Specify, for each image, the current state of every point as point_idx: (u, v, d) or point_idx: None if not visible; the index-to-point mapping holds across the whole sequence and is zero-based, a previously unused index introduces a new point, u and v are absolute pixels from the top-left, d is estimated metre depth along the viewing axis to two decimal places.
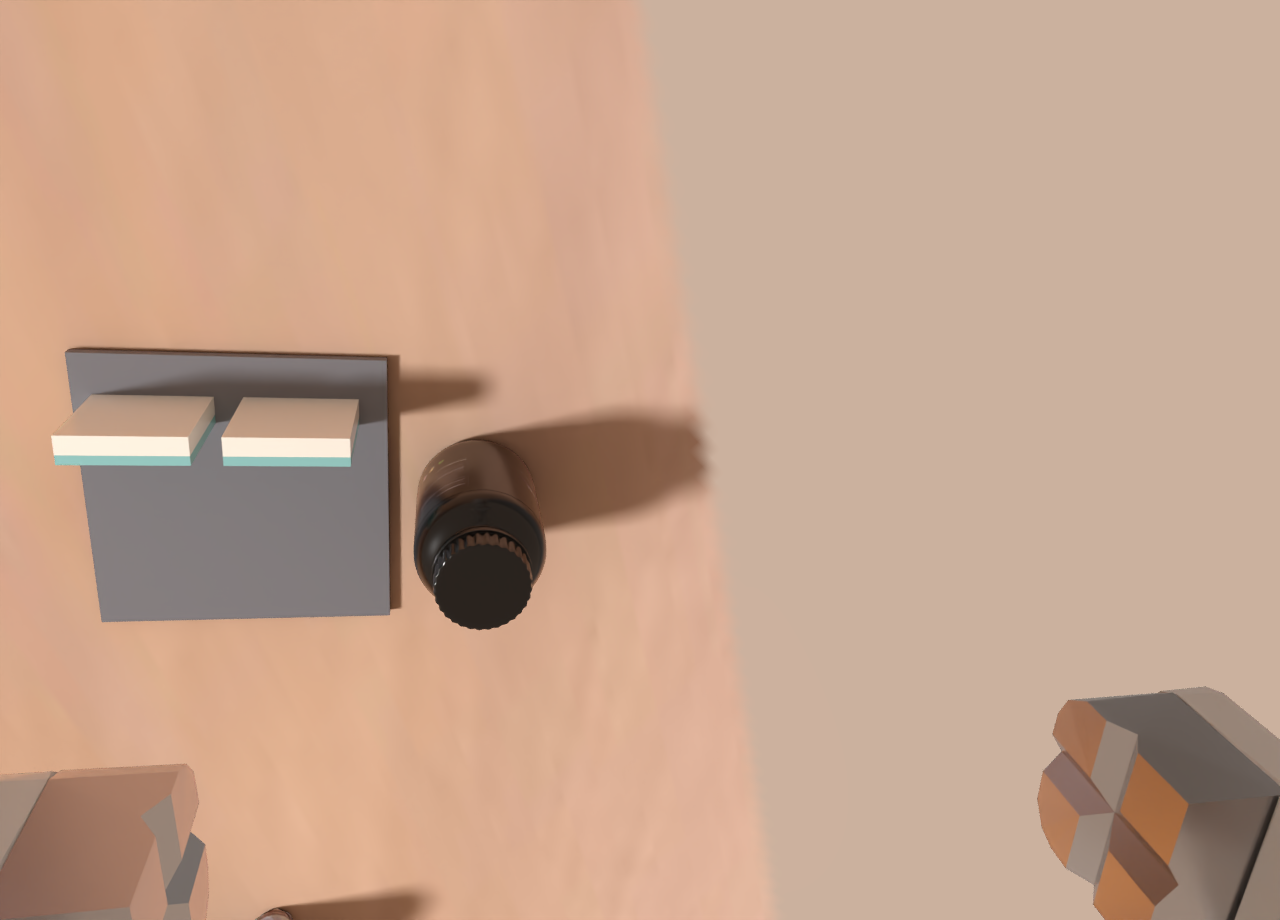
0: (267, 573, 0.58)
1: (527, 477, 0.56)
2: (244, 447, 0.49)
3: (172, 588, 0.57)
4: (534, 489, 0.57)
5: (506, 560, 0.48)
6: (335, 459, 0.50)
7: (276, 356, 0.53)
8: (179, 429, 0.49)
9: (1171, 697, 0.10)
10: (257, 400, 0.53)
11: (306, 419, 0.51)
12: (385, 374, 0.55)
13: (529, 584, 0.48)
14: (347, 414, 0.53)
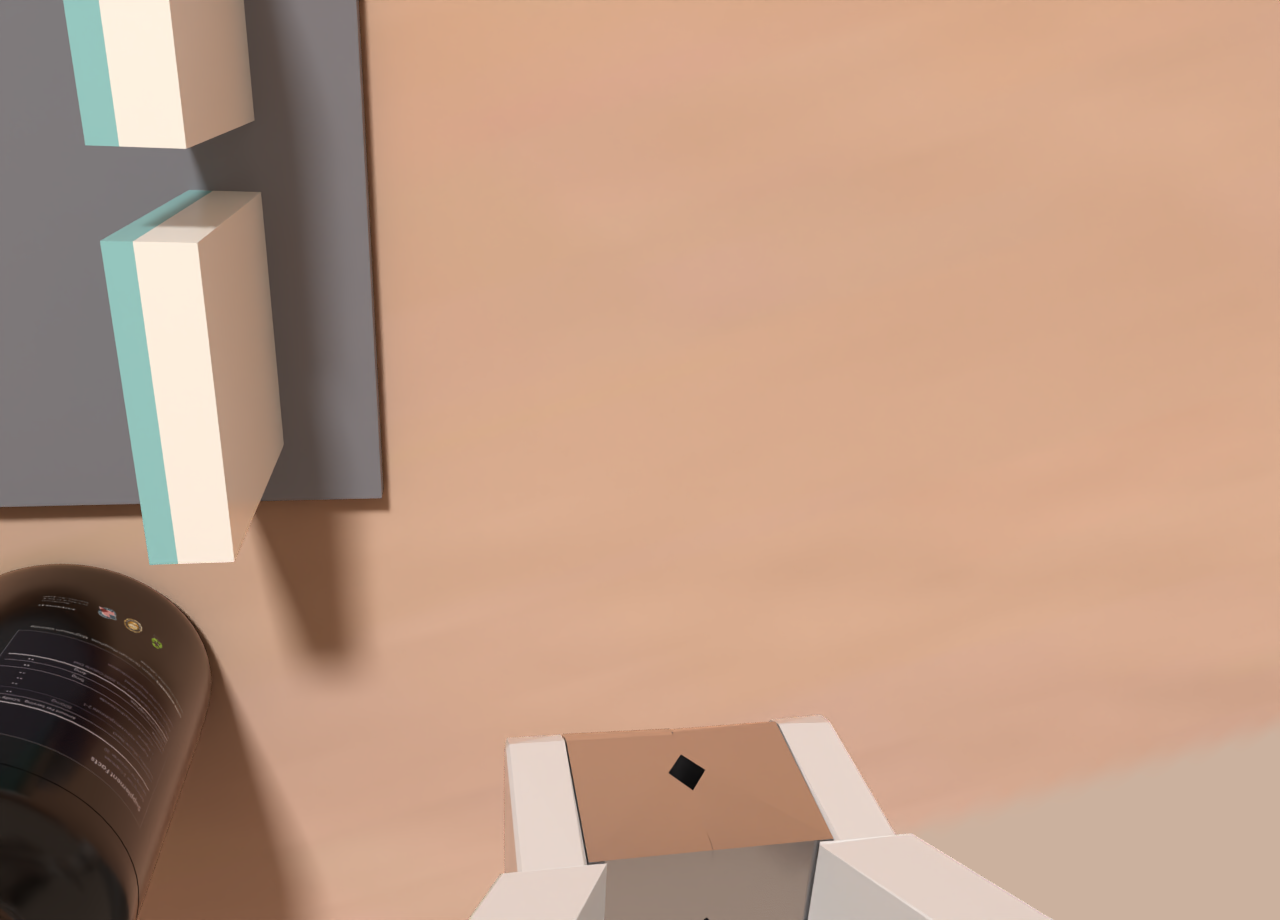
0: None
1: None
2: (172, 303, 0.17)
3: None
4: None
5: None
6: (166, 529, 0.18)
7: (371, 271, 0.23)
8: (196, 104, 0.17)
9: (768, 727, 0.09)
10: (260, 232, 0.22)
11: (248, 398, 0.20)
12: (349, 496, 0.25)
13: None
14: (264, 469, 0.22)
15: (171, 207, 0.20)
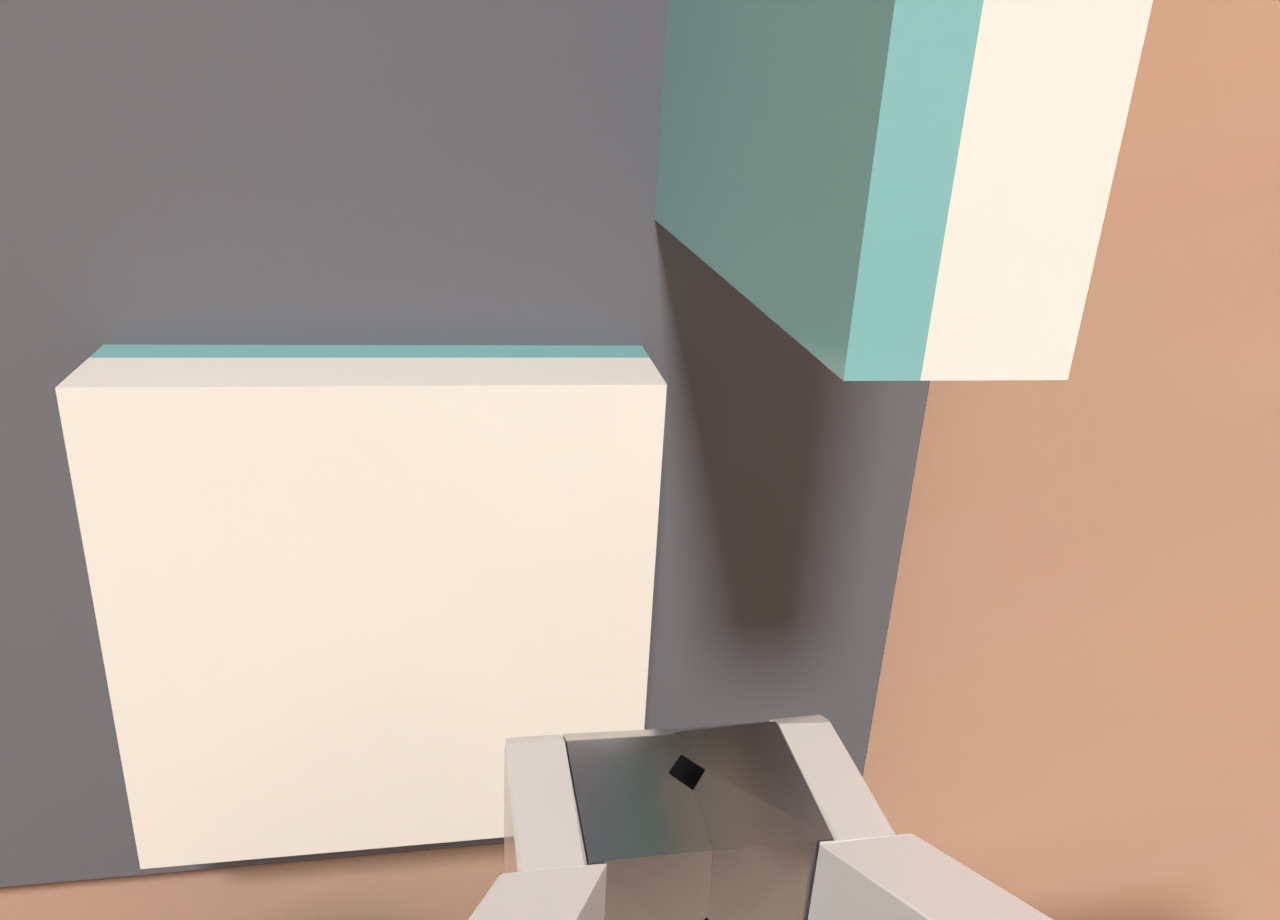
0: None
1: None
2: None
3: None
4: None
5: None
6: None
7: None
8: None
9: (768, 727, 0.09)
10: (617, 454, 0.11)
11: (355, 689, 0.11)
12: None
13: None
14: (440, 817, 0.12)
15: (434, 350, 0.11)
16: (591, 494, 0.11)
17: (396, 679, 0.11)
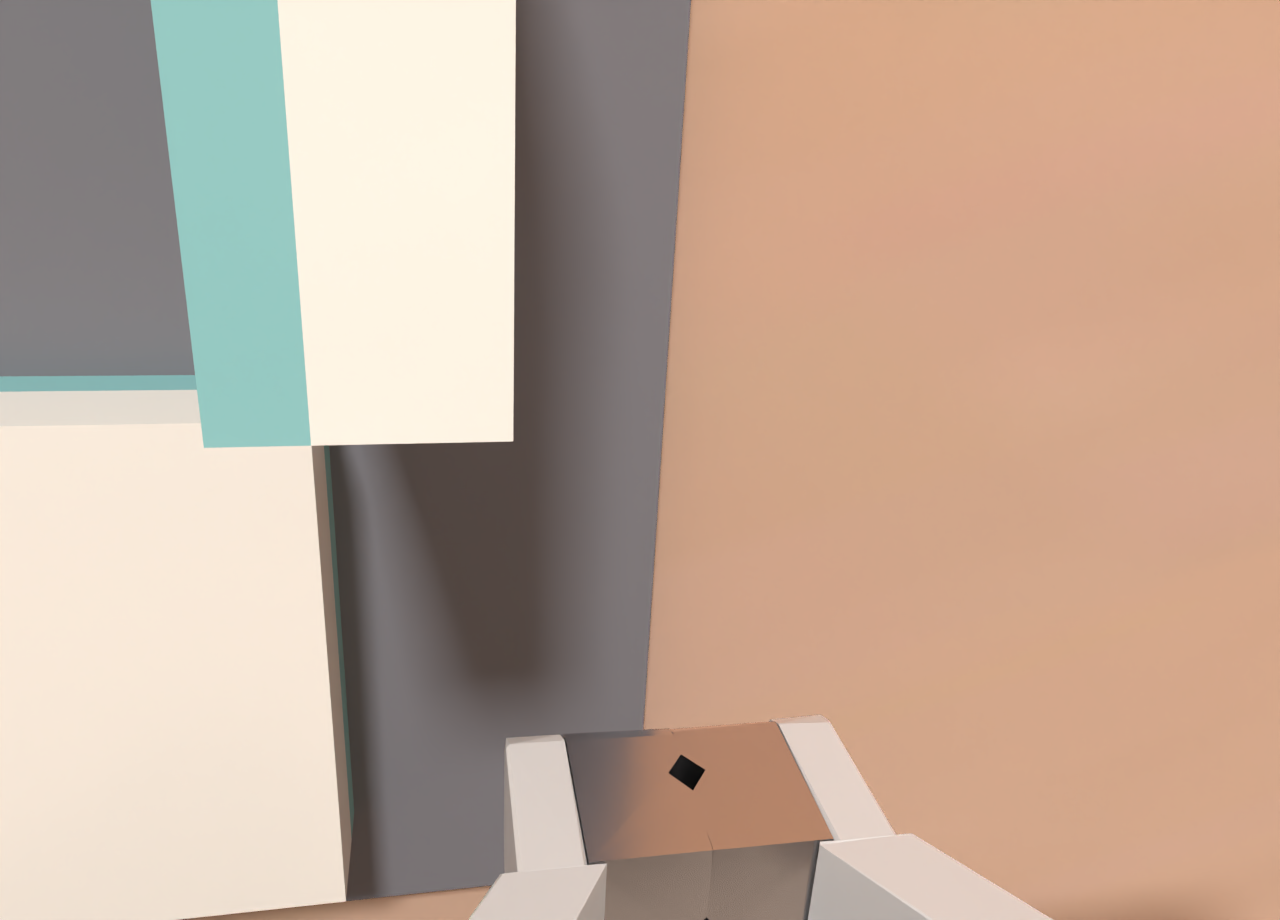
0: None
1: None
2: None
3: None
4: None
5: None
6: None
7: None
8: None
9: (768, 727, 0.09)
10: (260, 499, 0.10)
11: None
12: None
13: None
14: (110, 899, 0.11)
15: (70, 382, 0.10)
16: (236, 544, 0.10)
17: (32, 751, 0.10)
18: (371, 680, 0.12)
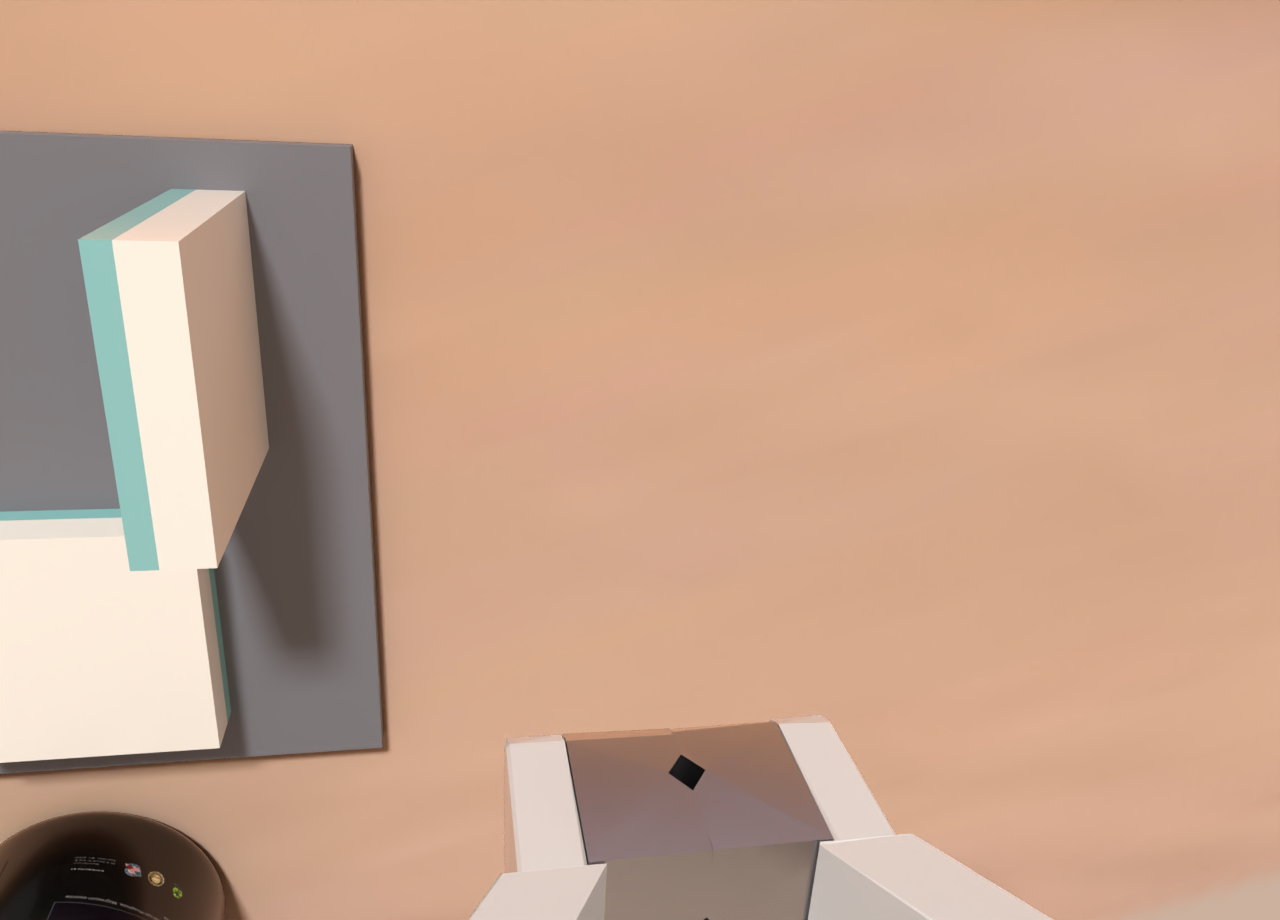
0: None
1: None
2: None
3: None
4: None
5: None
6: None
7: (373, 560, 0.26)
8: (224, 515, 0.19)
9: (768, 727, 0.09)
10: None
11: (56, 676, 0.24)
12: (352, 747, 0.28)
13: None
14: (110, 742, 0.24)
15: (93, 513, 0.24)
16: (163, 584, 0.23)
17: (76, 672, 0.24)
18: (236, 645, 0.26)
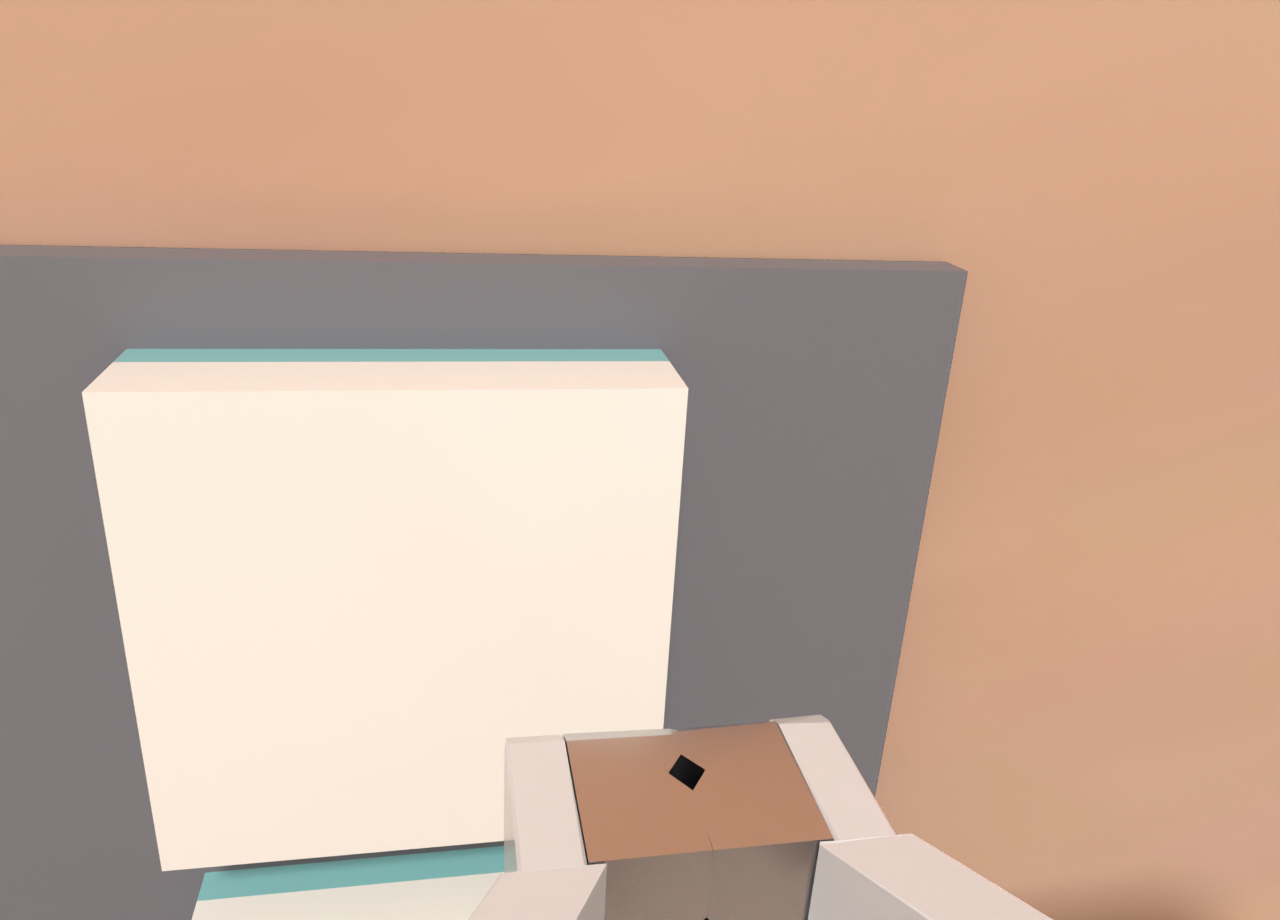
0: None
1: None
2: None
3: None
4: None
5: None
6: None
7: None
8: (245, 823, 0.12)
9: (768, 727, 0.09)
10: None
11: None
12: None
13: None
14: None
15: (465, 861, 0.14)
16: None
17: None
18: None
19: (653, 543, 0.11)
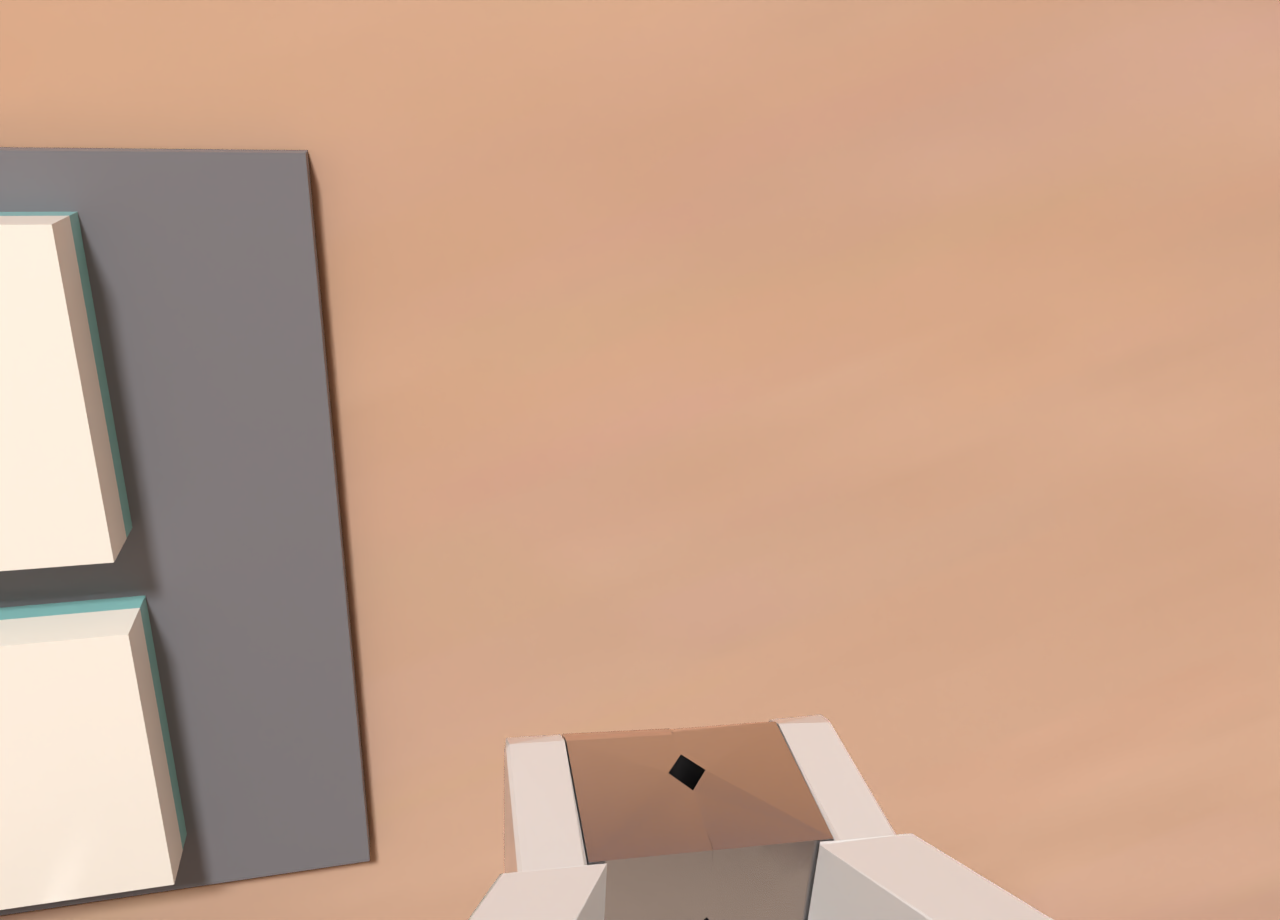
0: None
1: None
2: None
3: None
4: None
5: None
6: None
7: (351, 645, 0.22)
8: None
9: (768, 727, 0.09)
10: (105, 673, 0.19)
11: None
12: (334, 863, 0.23)
13: None
14: (37, 888, 0.20)
15: (4, 612, 0.19)
16: (94, 696, 0.19)
17: None
18: (189, 757, 0.21)
19: (54, 339, 0.16)
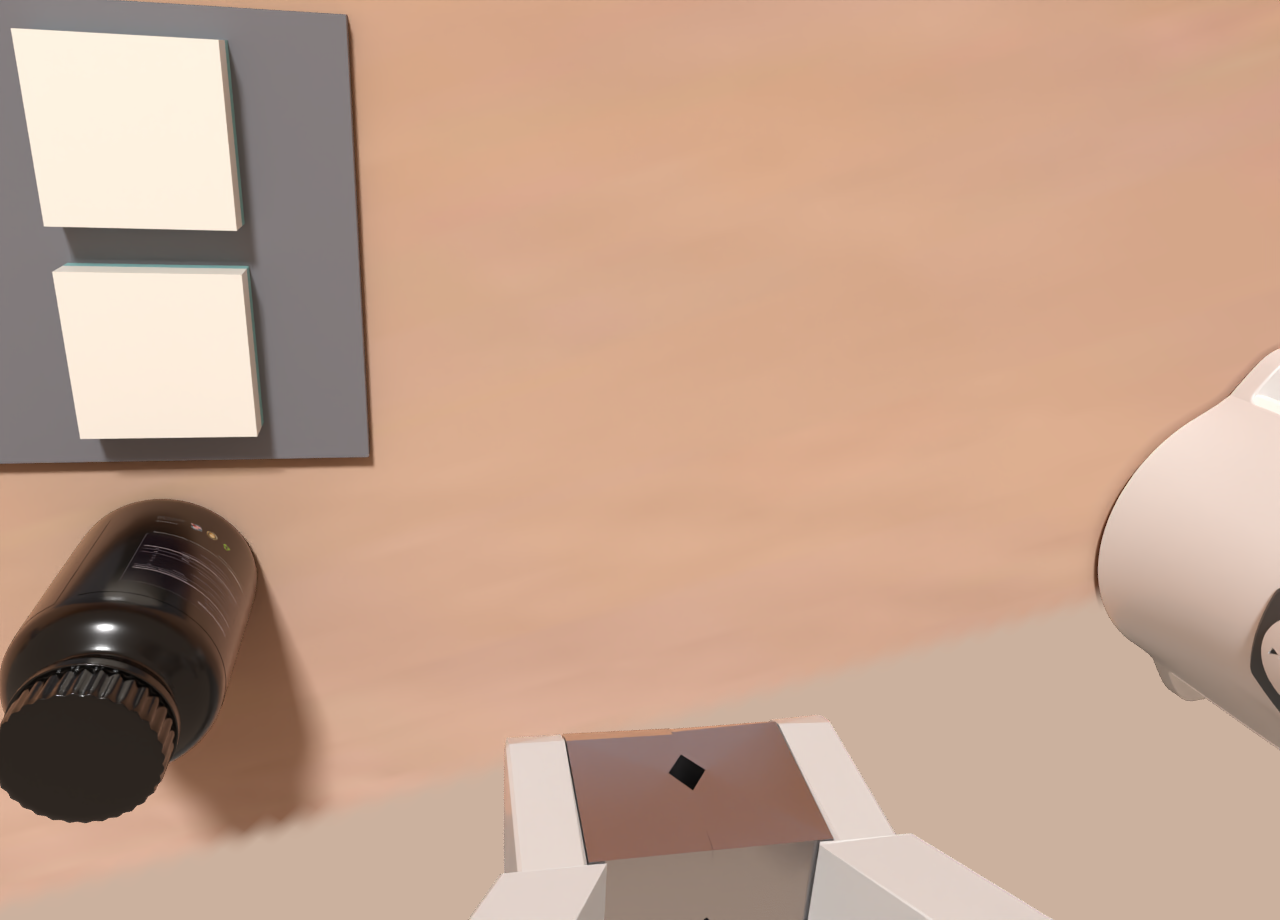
0: None
1: None
2: None
3: None
4: None
5: (137, 785, 0.30)
6: None
7: (361, 313, 0.38)
8: (74, 208, 0.33)
9: (768, 727, 0.09)
10: (228, 297, 0.35)
11: (149, 375, 0.35)
12: (347, 455, 0.39)
13: (95, 819, 0.30)
14: (183, 427, 0.36)
15: (174, 265, 0.35)
16: (221, 310, 0.35)
17: (163, 372, 0.35)
18: (267, 371, 0.37)
19: (215, 101, 0.32)
